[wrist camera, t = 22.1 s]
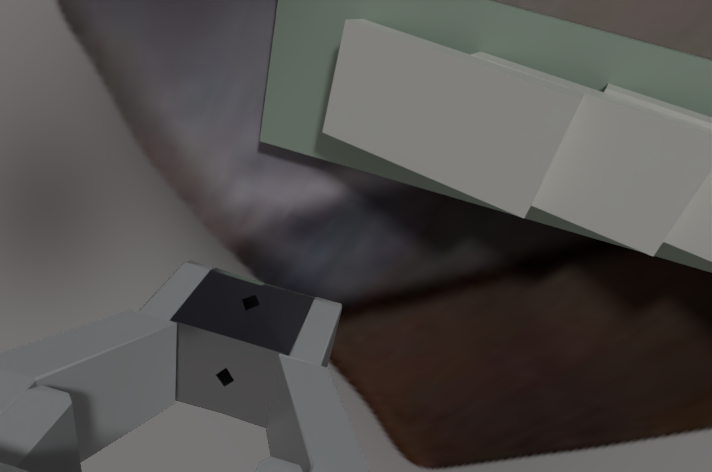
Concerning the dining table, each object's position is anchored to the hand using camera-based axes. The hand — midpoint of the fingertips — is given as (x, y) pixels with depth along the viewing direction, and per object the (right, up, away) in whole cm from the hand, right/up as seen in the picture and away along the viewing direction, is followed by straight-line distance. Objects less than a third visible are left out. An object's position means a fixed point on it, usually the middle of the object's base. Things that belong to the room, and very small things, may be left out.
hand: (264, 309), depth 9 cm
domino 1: (+1, +9, +16) cm, 18 cm away
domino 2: (+7, +8, +15) cm, 19 cm away
